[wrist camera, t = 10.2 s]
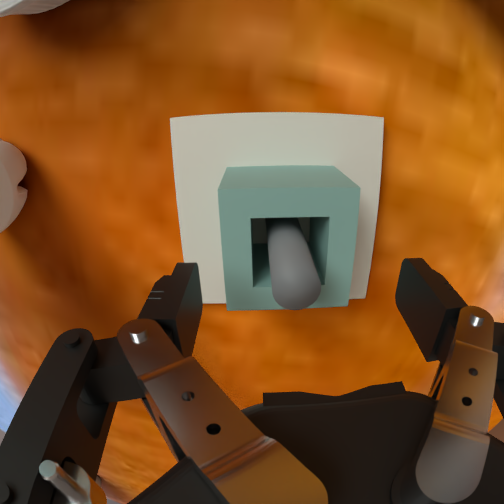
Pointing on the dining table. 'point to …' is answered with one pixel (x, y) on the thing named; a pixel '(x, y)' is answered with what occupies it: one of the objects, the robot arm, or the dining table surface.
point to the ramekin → (28, 6)
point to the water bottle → (11, 183)
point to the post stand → (273, 154)
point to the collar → (287, 205)
